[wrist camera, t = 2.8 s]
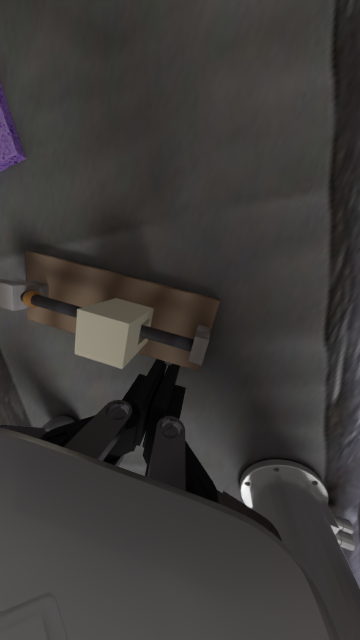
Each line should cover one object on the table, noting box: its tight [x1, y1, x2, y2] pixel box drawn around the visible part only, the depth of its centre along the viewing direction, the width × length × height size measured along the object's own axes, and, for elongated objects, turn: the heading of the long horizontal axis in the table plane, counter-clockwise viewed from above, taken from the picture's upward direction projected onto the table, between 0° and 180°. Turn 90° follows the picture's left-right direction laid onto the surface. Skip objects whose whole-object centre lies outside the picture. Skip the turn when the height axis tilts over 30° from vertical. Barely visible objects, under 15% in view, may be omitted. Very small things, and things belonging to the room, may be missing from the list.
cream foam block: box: [75, 298, 154, 369], centre depth 20 cm, size 5×5×7 cm
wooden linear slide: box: [0, 251, 220, 371], centre depth 23 cm, size 27×10×6 cm, turn 77°
